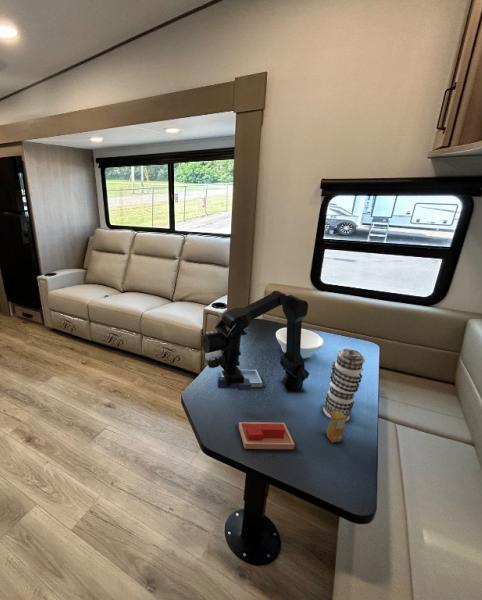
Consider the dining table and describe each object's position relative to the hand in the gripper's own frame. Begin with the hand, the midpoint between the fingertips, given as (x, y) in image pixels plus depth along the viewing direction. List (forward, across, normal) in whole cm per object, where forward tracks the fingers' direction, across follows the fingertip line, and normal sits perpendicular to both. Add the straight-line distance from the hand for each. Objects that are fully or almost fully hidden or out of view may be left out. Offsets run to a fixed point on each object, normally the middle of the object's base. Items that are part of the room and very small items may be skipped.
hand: (227, 384), depth 113 cm
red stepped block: (+9, +16, +10) cm, 20 cm away
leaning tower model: (+9, +4, +39) cm, 40 cm away
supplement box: (+9, +16, +32) cm, 37 cm away
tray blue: (+9, -16, +9) cm, 20 cm away
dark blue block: (+1, 0, +2) cm, 2 cm away
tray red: (+9, +16, +10) cm, 21 cm away
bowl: (+10, -38, +41) cm, 57 cm away
